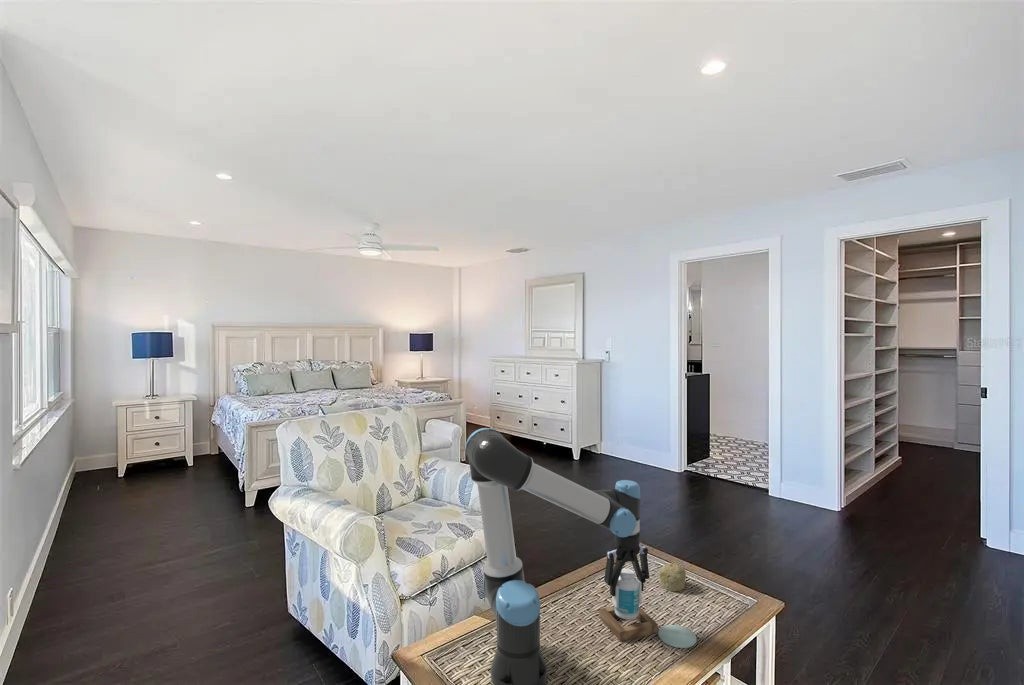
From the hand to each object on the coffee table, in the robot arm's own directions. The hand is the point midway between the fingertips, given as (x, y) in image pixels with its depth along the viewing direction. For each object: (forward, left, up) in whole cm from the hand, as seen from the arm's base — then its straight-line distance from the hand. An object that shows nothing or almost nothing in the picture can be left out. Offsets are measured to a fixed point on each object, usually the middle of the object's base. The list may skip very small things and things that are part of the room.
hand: (626, 602), depth 158 cm
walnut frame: (0, 0, -7) cm, 7 cm away
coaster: (+11, -10, -7) cm, 17 cm away
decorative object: (+28, +16, -7) cm, 33 cm away
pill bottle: (0, 0, -4) cm, 4 cm away
